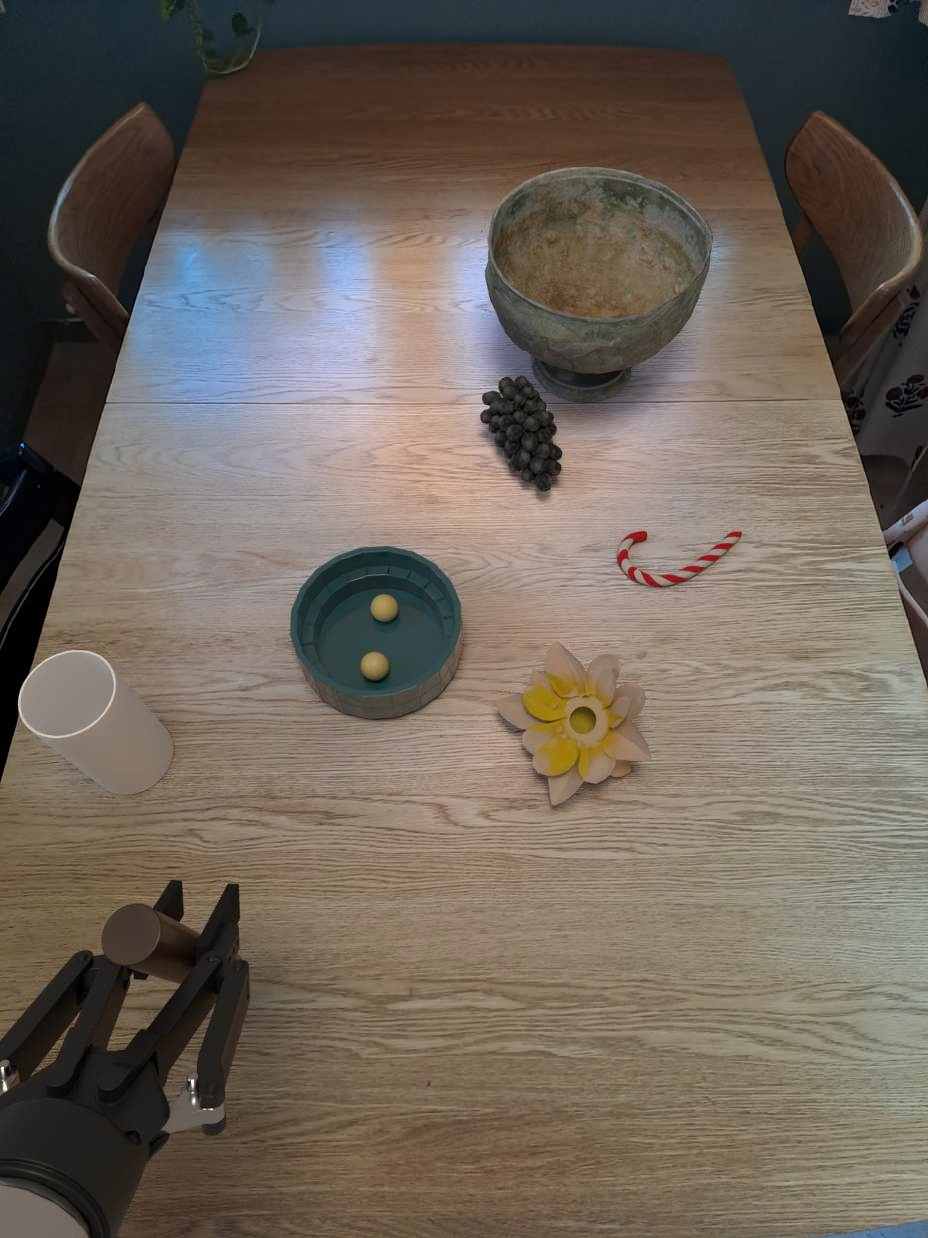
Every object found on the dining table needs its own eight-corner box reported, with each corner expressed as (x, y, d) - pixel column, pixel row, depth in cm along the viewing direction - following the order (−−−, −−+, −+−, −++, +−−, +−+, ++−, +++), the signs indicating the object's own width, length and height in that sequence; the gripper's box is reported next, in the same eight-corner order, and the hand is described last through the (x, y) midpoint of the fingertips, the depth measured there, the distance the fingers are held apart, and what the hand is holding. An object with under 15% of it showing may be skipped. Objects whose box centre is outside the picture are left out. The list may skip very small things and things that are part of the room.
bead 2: (373, 690, 88) (370, 678, 85) (356, 670, 89) (352, 658, 86) (395, 674, 89) (393, 661, 86) (379, 654, 90) (376, 641, 87)
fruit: (570, 451, 92) (528, 353, 99) (501, 481, 94) (464, 382, 100) (584, 489, 100) (544, 396, 107) (520, 517, 101) (485, 423, 108)
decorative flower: (477, 681, 87) (505, 636, 79) (570, 656, 91) (605, 612, 83) (533, 817, 81) (569, 785, 73) (629, 784, 86) (674, 751, 77)
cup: (187, 765, 85) (132, 704, 71) (111, 811, 82) (38, 757, 68) (153, 703, 88) (94, 633, 74) (79, 745, 86) (3, 681, 72)
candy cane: (757, 551, 95) (639, 593, 93) (753, 557, 96) (637, 599, 94) (722, 499, 99) (608, 539, 96) (719, 506, 100) (606, 545, 97)
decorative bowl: (653, 466, 102) (689, 333, 85) (454, 417, 107) (451, 282, 89) (694, 326, 115) (732, 186, 98) (515, 288, 119) (522, 148, 102)
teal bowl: (363, 753, 85) (356, 730, 80) (270, 636, 92) (257, 607, 86) (494, 656, 91) (496, 628, 85) (397, 551, 97) (392, 518, 91)
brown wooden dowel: (216, 1006, 61) (118, 979, 44) (194, 969, 63) (90, 929, 45) (254, 976, 62) (172, 939, 45) (231, 941, 64) (143, 890, 46)
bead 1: (382, 631, 91) (380, 618, 88) (366, 612, 92) (363, 599, 90) (404, 616, 92) (402, 602, 89) (388, 598, 93) (386, 584, 90)
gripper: (-161, 1291, 36) (93, 938, 59) (213, 1320, 36) (324, 953, 58) (-193, 1156, 34) (83, 843, 56) (205, 1185, 33) (323, 858, 56)
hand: (205, 899), depth 57 cm, fingers closed on brown wooden dowel, 3 cm apart
